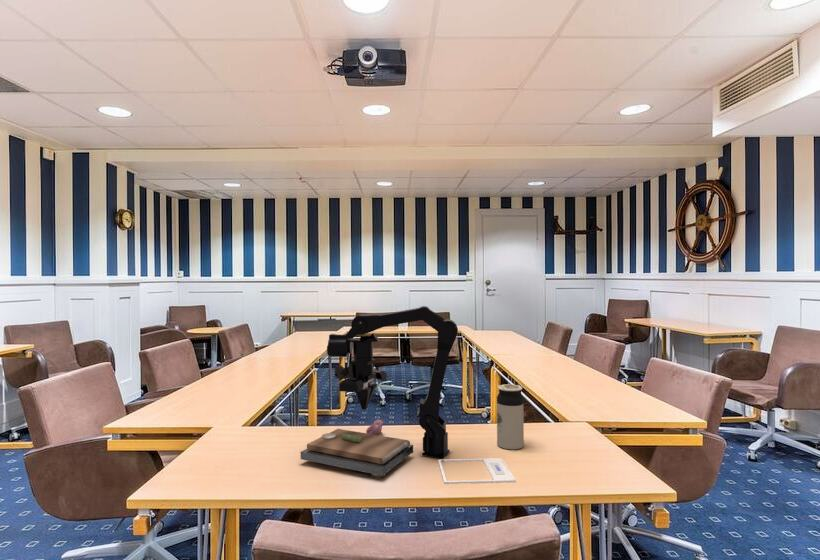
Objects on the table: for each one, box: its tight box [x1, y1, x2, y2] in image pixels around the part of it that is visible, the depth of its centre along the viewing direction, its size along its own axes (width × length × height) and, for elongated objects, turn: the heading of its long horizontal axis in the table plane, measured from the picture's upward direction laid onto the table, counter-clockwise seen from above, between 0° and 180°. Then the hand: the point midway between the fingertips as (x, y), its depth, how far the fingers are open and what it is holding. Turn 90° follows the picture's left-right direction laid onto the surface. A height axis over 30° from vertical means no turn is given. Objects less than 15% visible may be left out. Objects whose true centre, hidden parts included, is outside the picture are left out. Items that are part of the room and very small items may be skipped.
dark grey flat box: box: [300, 444, 414, 479], centre depth 130 cm, size 26×18×4 cm
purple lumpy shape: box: [365, 419, 384, 436], centre depth 148 cm, size 10×5×7 cm, turn 0°
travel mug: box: [496, 383, 525, 450], centre depth 141 cm, size 8×8×18 cm
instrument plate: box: [306, 428, 411, 464], centre depth 129 cm, size 25×15×3 cm, turn 64°
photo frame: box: [437, 457, 517, 485], centre depth 122 cm, size 15×1×18 cm
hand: (364, 409), depth 136 cm, fingers closed
